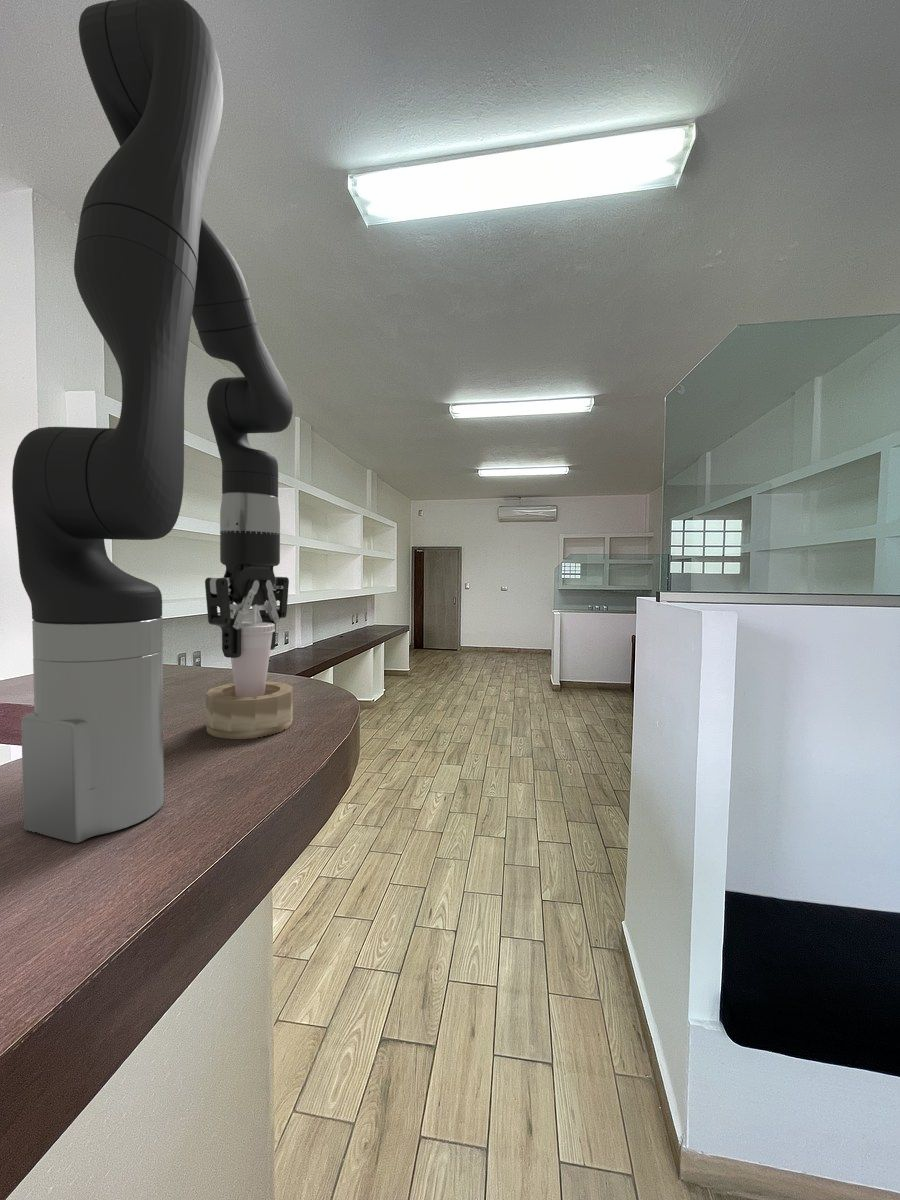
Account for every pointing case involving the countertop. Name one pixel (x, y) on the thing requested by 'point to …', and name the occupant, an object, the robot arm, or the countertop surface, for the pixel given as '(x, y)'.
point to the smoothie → (253, 657)
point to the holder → (248, 711)
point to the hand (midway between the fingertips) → (250, 652)
